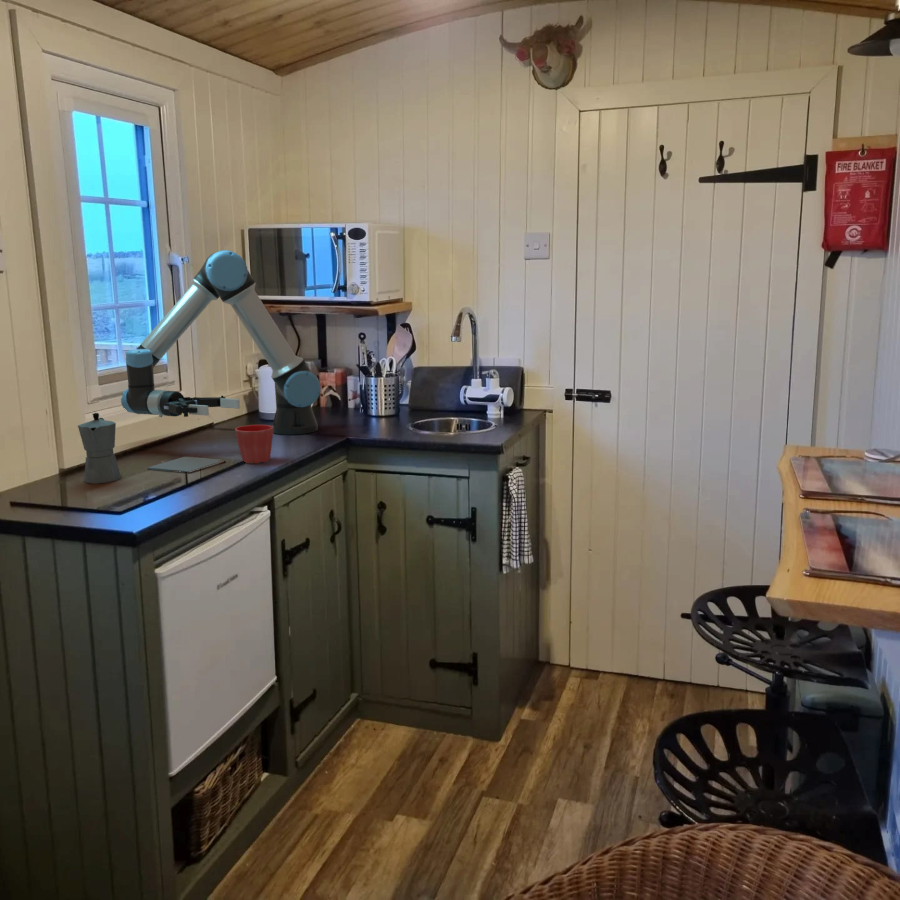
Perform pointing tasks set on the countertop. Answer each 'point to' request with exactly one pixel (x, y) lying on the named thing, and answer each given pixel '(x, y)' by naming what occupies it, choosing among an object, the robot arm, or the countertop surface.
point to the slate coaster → (184, 464)
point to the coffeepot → (99, 450)
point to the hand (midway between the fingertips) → (223, 407)
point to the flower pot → (255, 442)
